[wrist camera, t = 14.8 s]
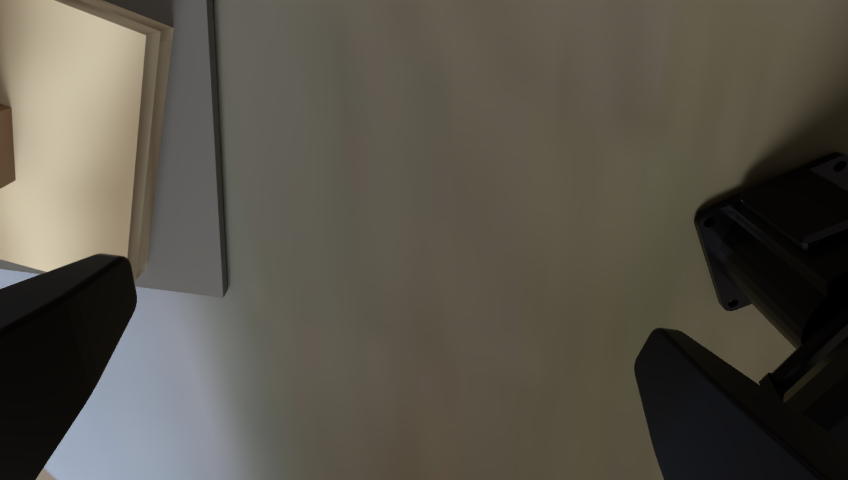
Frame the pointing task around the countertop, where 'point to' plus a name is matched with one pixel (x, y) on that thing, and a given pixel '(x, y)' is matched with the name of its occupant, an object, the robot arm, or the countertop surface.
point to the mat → (184, 159)
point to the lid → (79, 130)
